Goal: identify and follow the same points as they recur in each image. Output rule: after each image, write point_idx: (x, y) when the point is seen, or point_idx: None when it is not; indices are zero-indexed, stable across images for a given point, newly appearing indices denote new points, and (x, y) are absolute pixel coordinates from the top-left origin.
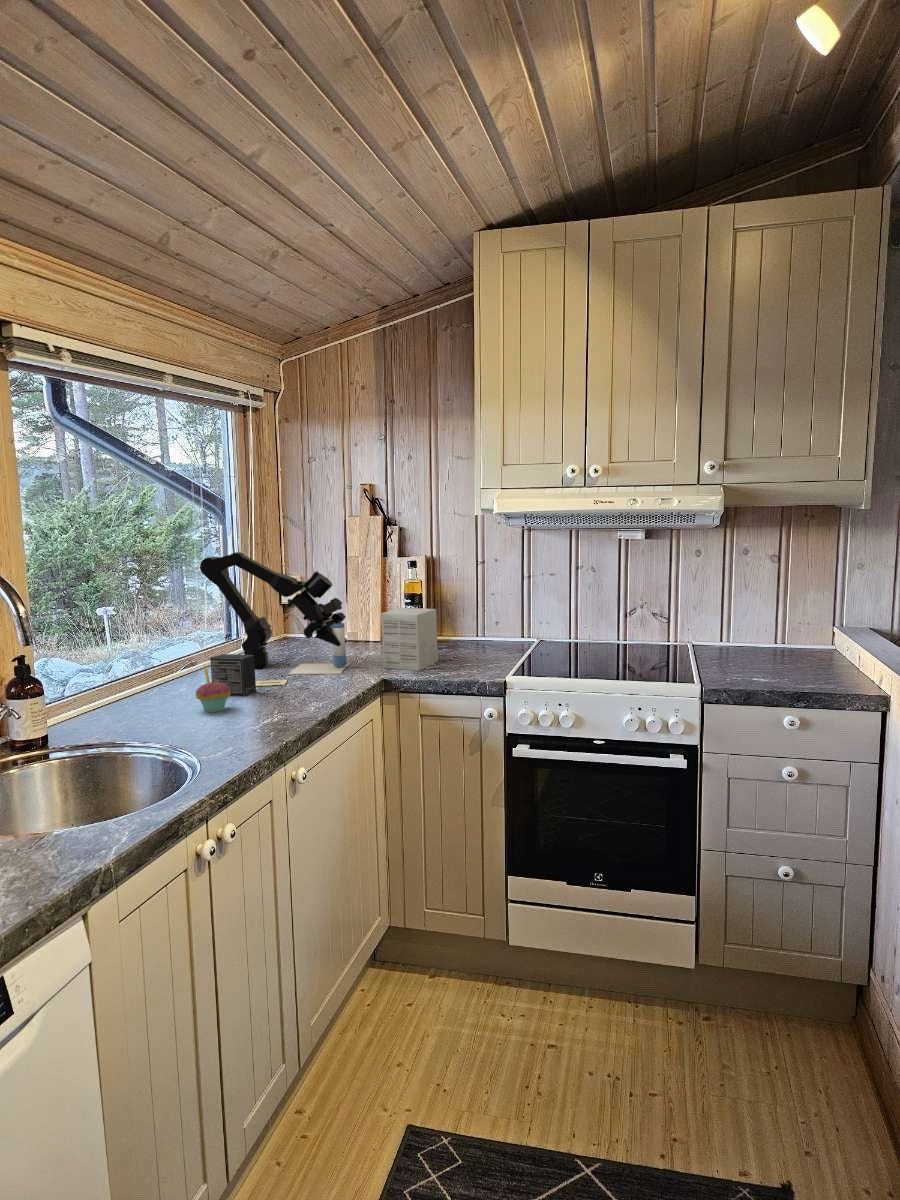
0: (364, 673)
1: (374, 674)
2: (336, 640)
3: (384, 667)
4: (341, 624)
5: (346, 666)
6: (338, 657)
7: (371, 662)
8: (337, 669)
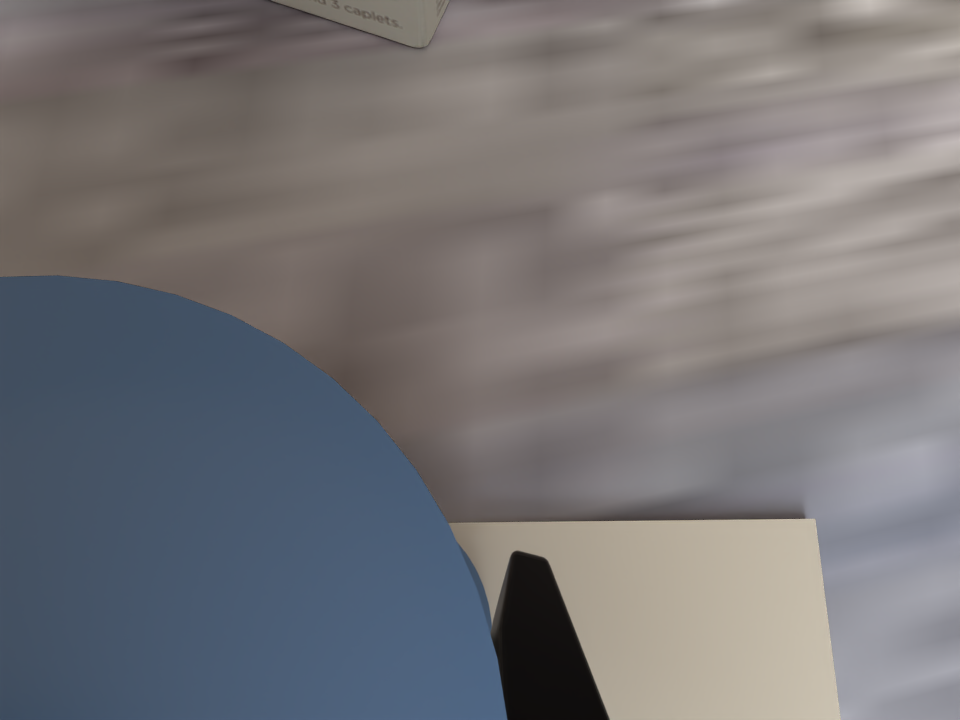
0: (727, 216)
1: (775, 95)
2: (585, 677)
3: (433, 30)
4: (356, 413)
5: None
6: (489, 626)
7: (30, 246)
8: (572, 622)
